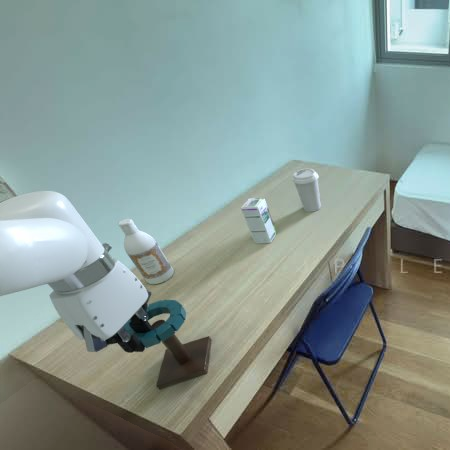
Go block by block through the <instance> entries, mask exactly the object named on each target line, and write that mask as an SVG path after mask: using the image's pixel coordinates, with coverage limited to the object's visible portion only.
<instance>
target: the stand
mask: <svg viewBox="0 0 450 450" xmlns="http://www.w3.org/2000/svg"><path fill="white" fill-rule="evenodd" d="M165 321H166V320H165V319H158V320H156V321H154V322H153V323H152V324H151V326H152V327H153V330H155V329H156V328H158V327H159V326H161V325H162V324H164V323H165ZM161 343H162V344H163V346H164V347H165V348H166V349H165V350H164V353H163V358H162V362H161V365H160V369H159V374H158V377H157V381H156V384H155V387H156V388H157V389H158V390H162V389H163V390H164V389H166V388H169V387H172V386H173V385H177V384H180V383H183V382H186V381H189V380H192V379H195V378H198V377H200V376H204V375H206V374H208V372H209V365H210V355H211V347H212V338H211V336H210V335H207V336H205V337H201V338H199V339H195V340H192V341H188V342H186V343H182V342H181V341H180V339H179V338H178V336H177V335H176V333H175V334H173V335H172V336H170V337H169V338H168V339H166V340H165V341H162V340H161Z"/></svg>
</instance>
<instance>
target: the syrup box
mask: <svg viewBox="0 0 450 450" xmlns="http://www.w3.org/2000/svg"><path fill="white" fill-rule="evenodd" d="M240 211H241V213H242V215H243V218H244V220H245V222H246V226H247V228H248V230H249V232H250V235H251V237H252V240H253V242H254V244H272V242H273V240H274V239H275V237H276V235H277V233H278V231H277V229H276V226H275V223H274V221H273V218H272V214H271V213H270V210H269V207H268V204H267V201H266V198H264V197H252V198H247V200H246V201H245V202H244V203H243V205H241V207H240Z"/></svg>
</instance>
